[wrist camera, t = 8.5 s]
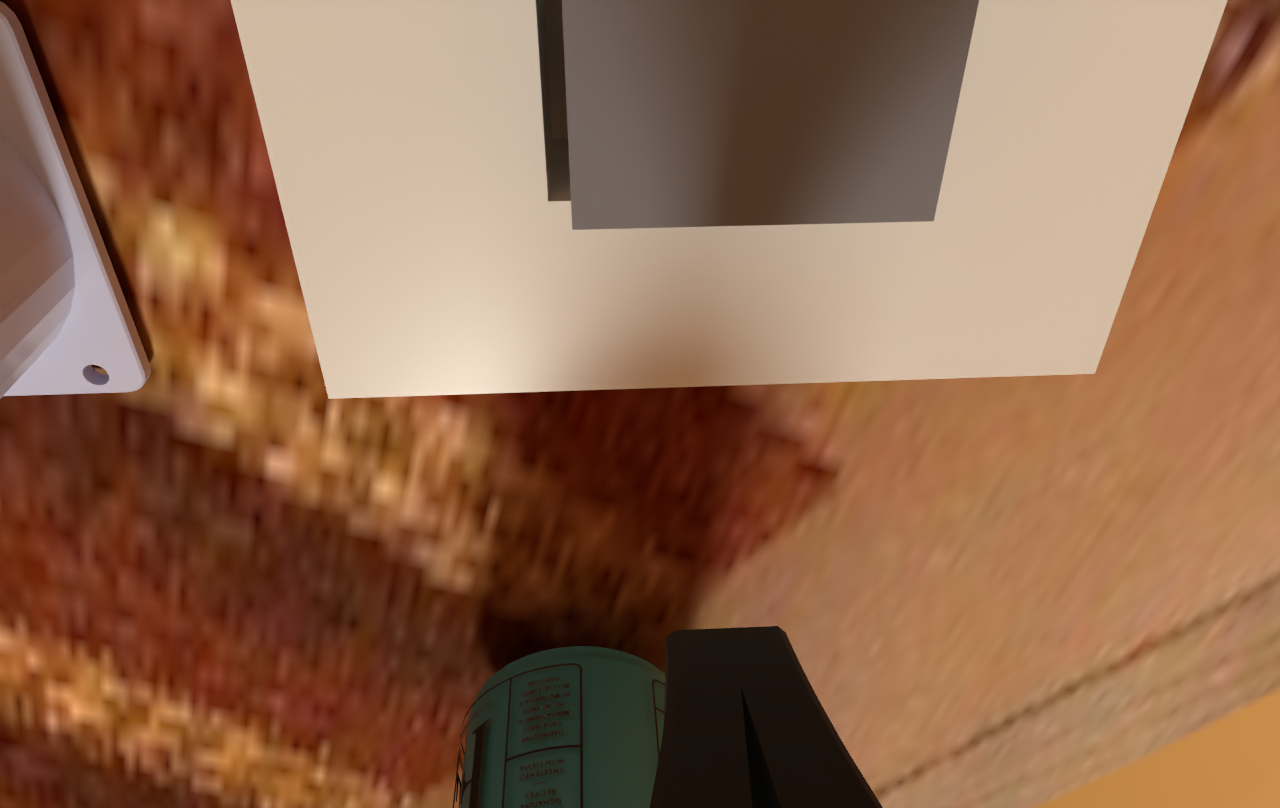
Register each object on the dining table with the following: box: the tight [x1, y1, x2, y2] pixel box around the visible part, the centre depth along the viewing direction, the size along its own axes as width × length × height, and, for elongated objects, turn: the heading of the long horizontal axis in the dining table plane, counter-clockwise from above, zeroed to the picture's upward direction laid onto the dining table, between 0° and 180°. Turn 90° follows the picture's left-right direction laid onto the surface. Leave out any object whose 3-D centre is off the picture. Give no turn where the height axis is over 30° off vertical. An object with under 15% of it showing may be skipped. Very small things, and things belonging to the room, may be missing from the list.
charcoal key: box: [562, 0, 979, 230], centre depth 12 cm, size 5×5×3 cm
